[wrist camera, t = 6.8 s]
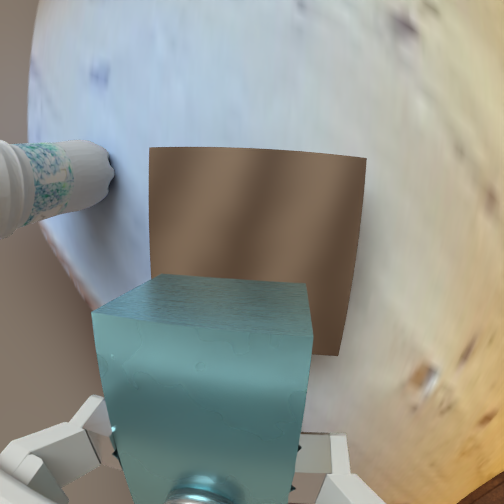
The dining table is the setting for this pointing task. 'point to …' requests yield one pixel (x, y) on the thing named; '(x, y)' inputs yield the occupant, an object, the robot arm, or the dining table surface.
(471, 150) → the dining table surface
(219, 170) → the stand
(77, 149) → the bottle
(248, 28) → the dining table surface
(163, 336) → the block
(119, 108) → the dining table surface
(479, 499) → the cutting board
